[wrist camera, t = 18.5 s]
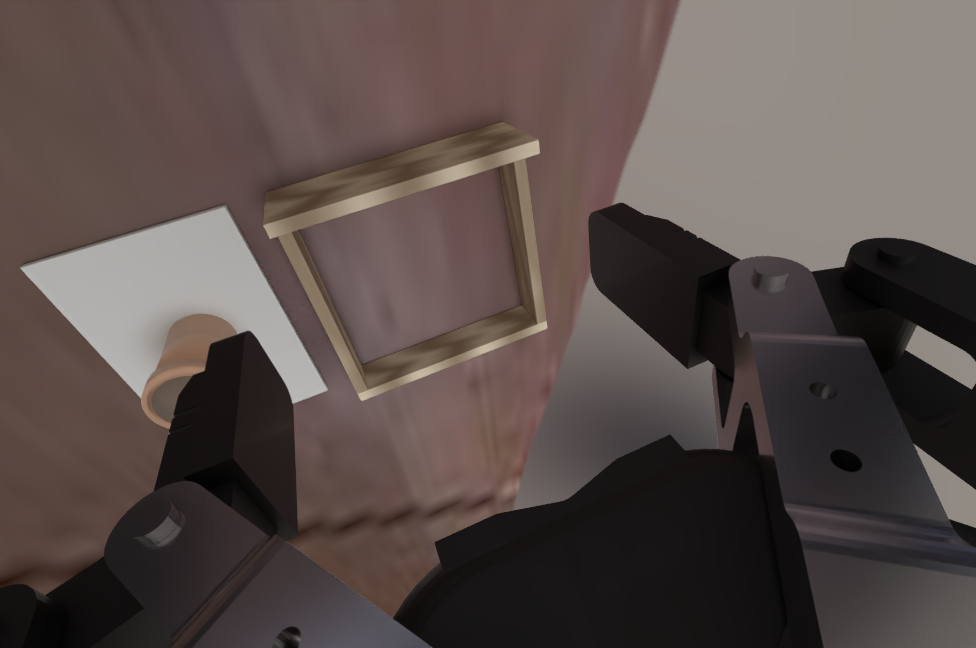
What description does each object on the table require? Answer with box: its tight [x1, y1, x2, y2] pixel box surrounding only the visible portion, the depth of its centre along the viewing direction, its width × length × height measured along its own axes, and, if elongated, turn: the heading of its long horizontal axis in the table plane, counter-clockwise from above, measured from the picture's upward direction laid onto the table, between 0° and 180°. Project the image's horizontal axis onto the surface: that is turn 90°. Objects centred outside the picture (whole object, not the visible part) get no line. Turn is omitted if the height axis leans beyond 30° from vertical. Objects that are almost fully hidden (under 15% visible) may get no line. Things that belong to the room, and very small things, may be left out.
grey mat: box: [20, 204, 328, 404], centre depth 40 cm, size 14×20×1 cm
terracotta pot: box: [141, 314, 237, 429], centre depth 37 cm, size 6×6×8 cm
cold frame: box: [263, 122, 547, 401], centre depth 41 cm, size 20×20×7 cm
